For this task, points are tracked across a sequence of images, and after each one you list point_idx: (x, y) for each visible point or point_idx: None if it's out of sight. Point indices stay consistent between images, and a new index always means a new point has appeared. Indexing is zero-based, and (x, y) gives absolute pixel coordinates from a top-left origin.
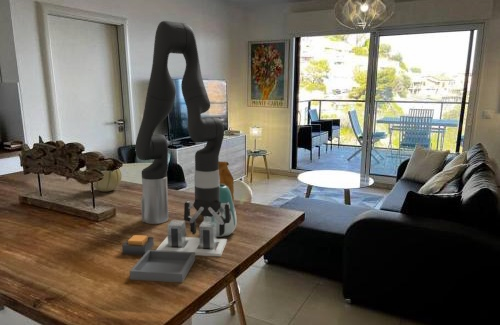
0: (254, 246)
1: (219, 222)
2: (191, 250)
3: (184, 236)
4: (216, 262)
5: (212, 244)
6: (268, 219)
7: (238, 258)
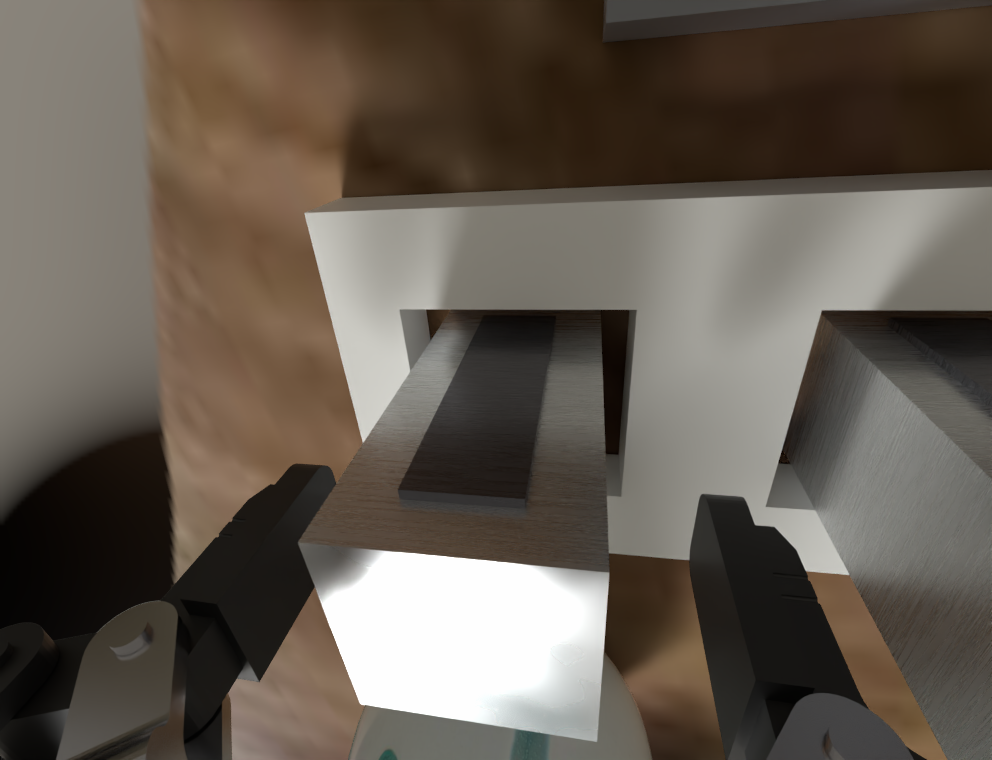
0: (203, 476)
1: (168, 650)
2: (698, 254)
3: (855, 508)
4: (363, 131)
5: (432, 362)
6: (300, 754)
7: (206, 262)
